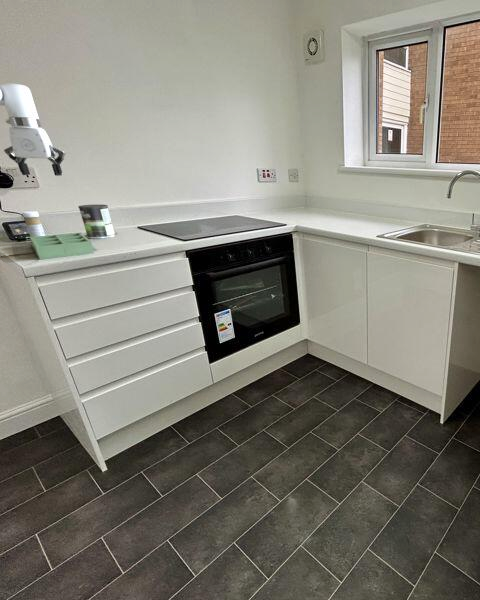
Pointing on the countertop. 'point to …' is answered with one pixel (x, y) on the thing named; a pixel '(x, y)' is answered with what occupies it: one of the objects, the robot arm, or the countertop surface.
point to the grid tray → (61, 245)
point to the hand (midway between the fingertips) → (42, 175)
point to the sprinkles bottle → (33, 223)
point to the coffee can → (97, 221)
